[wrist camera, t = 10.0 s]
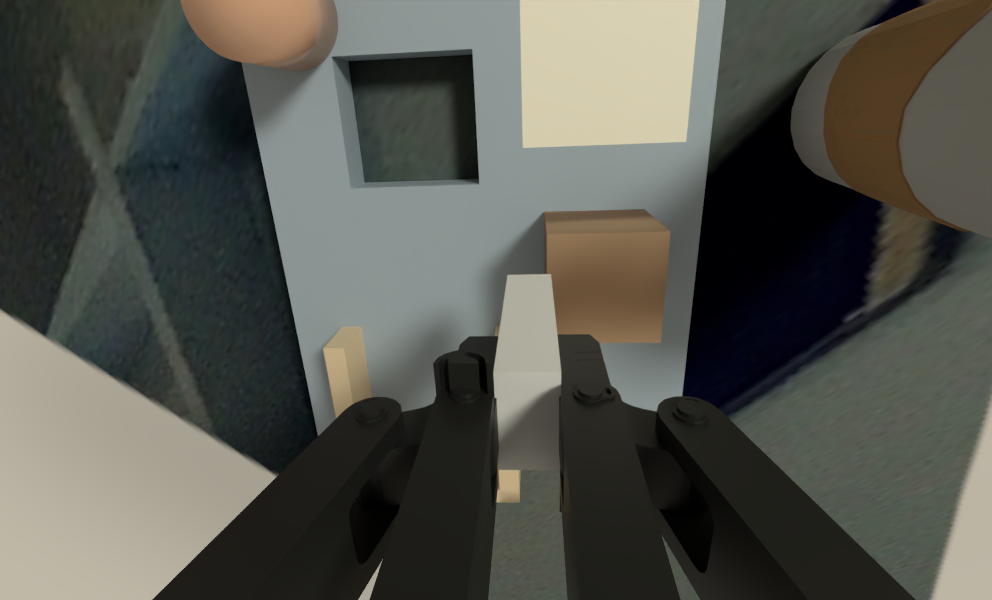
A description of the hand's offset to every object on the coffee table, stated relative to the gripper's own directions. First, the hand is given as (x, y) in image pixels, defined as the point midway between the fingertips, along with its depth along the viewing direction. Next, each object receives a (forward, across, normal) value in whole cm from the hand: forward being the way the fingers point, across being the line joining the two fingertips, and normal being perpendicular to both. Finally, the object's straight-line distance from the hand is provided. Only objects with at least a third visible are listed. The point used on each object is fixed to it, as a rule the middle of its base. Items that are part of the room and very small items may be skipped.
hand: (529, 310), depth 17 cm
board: (+9, -2, 0) cm, 9 cm away
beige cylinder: (+7, -10, +10) cm, 16 cm away
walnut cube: (+7, +3, 0) cm, 7 cm away
